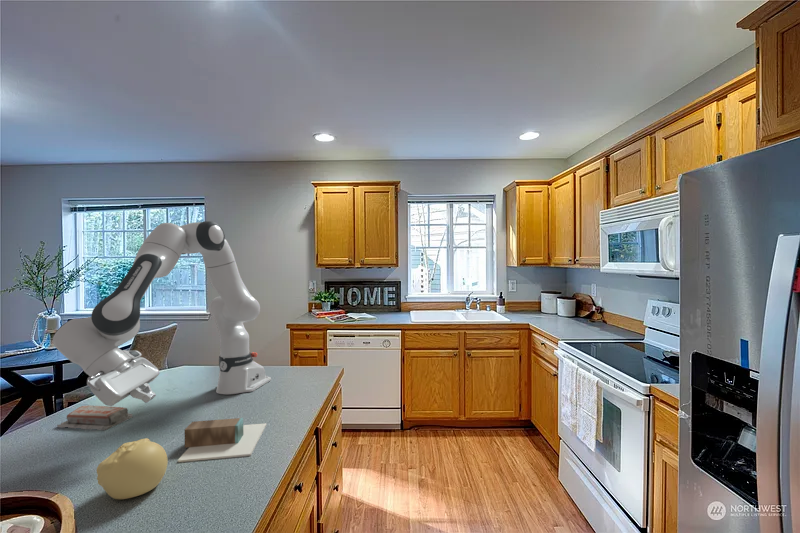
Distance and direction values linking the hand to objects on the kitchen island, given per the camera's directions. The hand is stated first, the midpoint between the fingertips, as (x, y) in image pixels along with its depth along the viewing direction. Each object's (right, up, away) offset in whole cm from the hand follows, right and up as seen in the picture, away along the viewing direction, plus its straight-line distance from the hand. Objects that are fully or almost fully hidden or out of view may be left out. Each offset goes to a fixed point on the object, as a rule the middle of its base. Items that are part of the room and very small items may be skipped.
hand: (151, 399), depth 96 cm
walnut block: (+10, -11, +1) cm, 14 cm away
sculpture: (+10, -14, -18) cm, 25 cm away
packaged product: (-30, -15, +17) cm, 38 cm away
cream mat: (+20, -13, +3) cm, 24 cm away
